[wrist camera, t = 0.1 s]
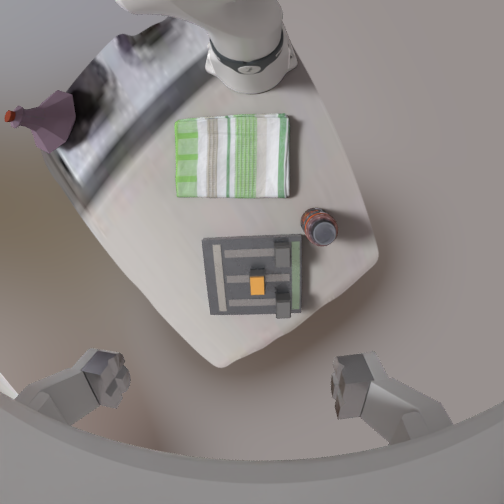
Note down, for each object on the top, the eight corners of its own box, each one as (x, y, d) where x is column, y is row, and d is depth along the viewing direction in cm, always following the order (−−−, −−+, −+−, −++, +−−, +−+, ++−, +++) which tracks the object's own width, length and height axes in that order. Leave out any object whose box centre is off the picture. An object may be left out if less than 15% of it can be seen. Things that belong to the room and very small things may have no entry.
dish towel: (289, 198, 55) (290, 200, 52) (178, 199, 56) (173, 201, 53) (289, 115, 50) (290, 111, 47) (177, 119, 52) (172, 116, 48)
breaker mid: (250, 269, 57) (248, 276, 53) (264, 269, 56) (264, 276, 53) (251, 287, 58) (250, 295, 54) (265, 287, 58) (265, 295, 54)
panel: (203, 238, 58) (201, 240, 56) (300, 234, 56) (301, 236, 54) (212, 310, 62) (210, 315, 60) (300, 308, 61) (301, 312, 59)
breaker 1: (273, 242, 55) (274, 247, 51) (289, 242, 55) (290, 247, 51) (274, 261, 56) (275, 268, 52) (289, 261, 56) (290, 267, 52)
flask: (70, 81, 48) (18, 65, 29) (96, 116, 51) (40, 104, 32) (36, 128, 52) (-17, 125, 32) (59, 166, 55) (2, 171, 35)
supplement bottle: (311, 201, 54) (322, 208, 44) (334, 218, 55) (349, 229, 44) (294, 224, 56) (300, 237, 45) (317, 241, 57) (328, 257, 46)
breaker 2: (275, 293, 58) (275, 302, 54) (289, 292, 58) (291, 301, 54) (275, 310, 59) (276, 319, 55) (289, 309, 59) (291, 318, 55)
